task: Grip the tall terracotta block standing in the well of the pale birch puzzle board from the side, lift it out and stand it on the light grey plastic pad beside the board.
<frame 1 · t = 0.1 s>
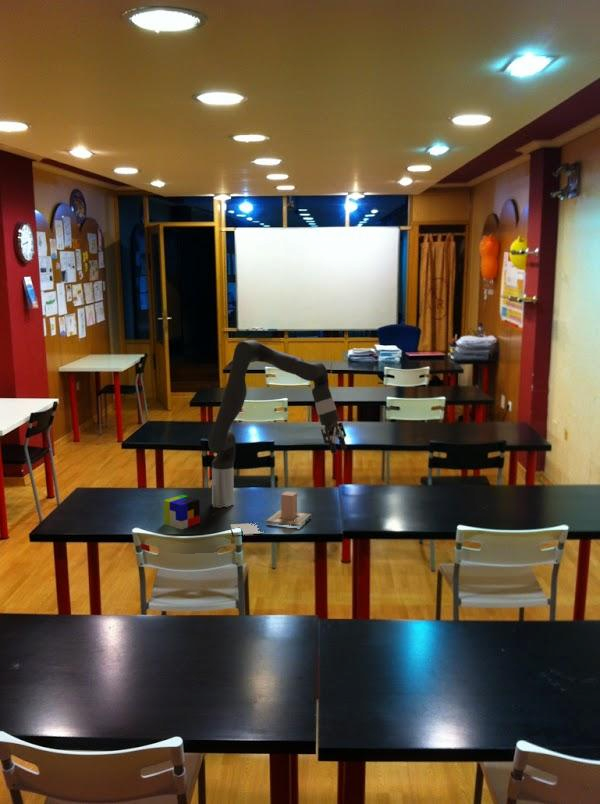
hand: (339, 450, 279), 31 cm above the table, tool tilted 20°, fingers open, 8 cm apart
grey pad: (246, 530, 280), on the table
terracotta block: (289, 507, 289), in the puzzle board
puzzle board: (289, 522, 290), on the table
puzzle toy: (182, 524, 287), on the table
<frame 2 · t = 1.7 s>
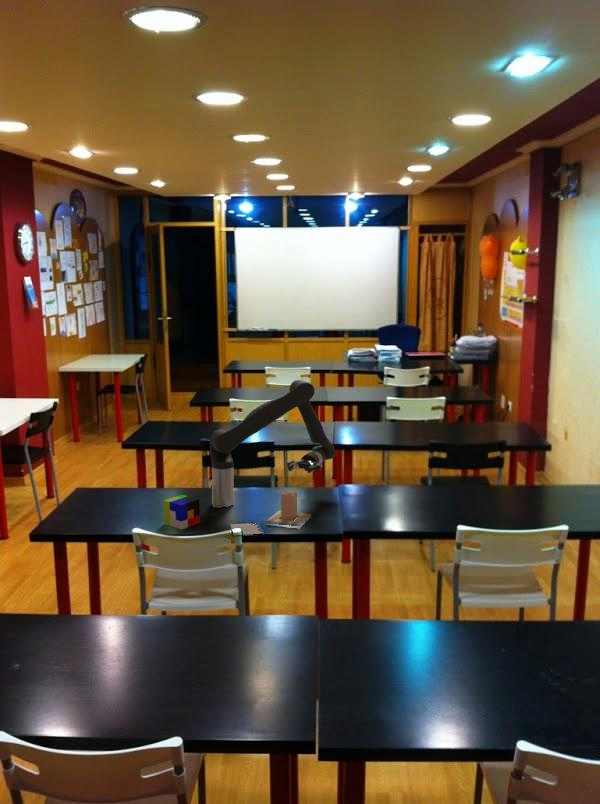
hand: (298, 469, 297), 19 cm above the table, tool horizontal, fingers open, 8 cm apart
nothing on the table moved.
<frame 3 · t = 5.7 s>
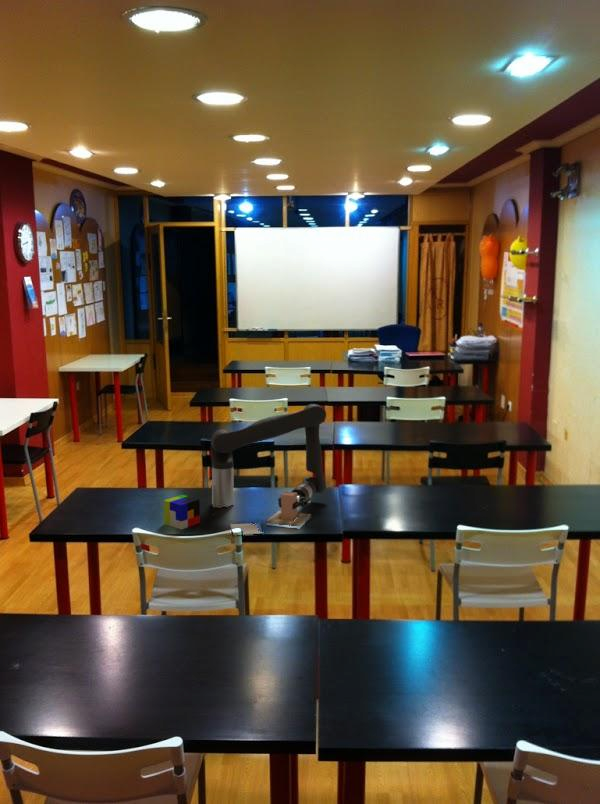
hand: (286, 506, 286), 8 cm above the table, tool horizontal, fingers closed on terracotta block, 5 cm apart
terracotta block: (289, 507, 289), in the puzzle board, touching gripper
everything else where it was.
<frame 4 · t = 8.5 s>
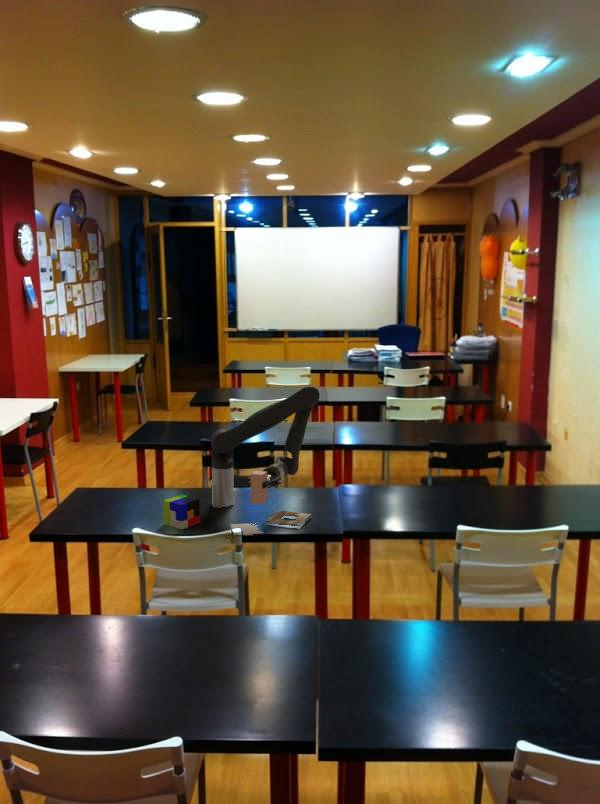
hand: (256, 485, 277), 18 cm above the table, tool horizontal, fingers closed on terracotta block, 5 cm apart
terracotta block: (259, 487, 280), point 17 cm above the table, touching gripper
everything else where it was.
when the fingers open (9 cm above the table, at t = 11.0 s): terracotta block drops 1 cm, resting on grey pad.
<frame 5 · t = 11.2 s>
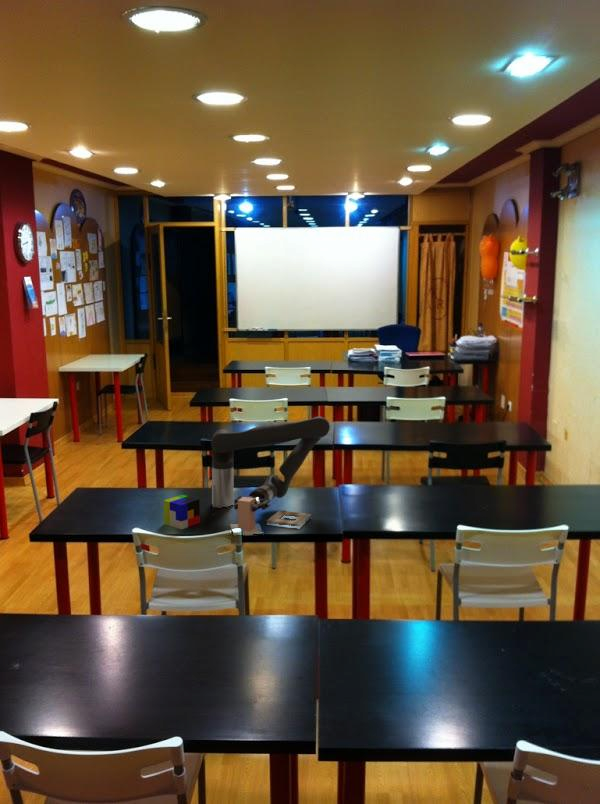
hand: (244, 508, 276), 10 cm above the table, tool horizontal, fingers open, 7 cm apart
terracotta block: (246, 514, 279), on the grey pad, point 7 cm above the table
everything else where it was.
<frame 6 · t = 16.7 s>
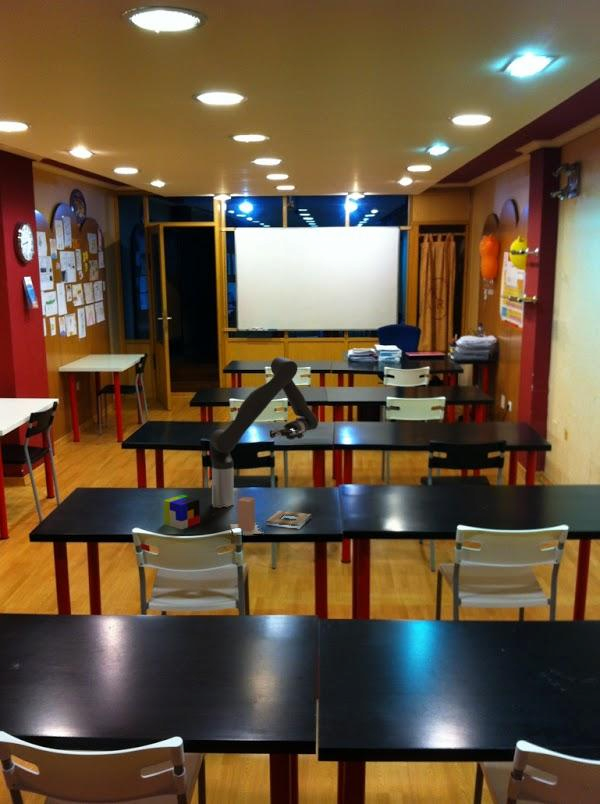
hand: (280, 436, 301), 32 cm above the table, tool horizontal, fingers open, 8 cm apart
nothing on the table moved.
at the end: terracotta block inside the target area on the grey pad (0.1 cm from its centre), point 6.6 cm above the grey pad's base; terracotta block tilted 0°; the gripper is holding nothing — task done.
